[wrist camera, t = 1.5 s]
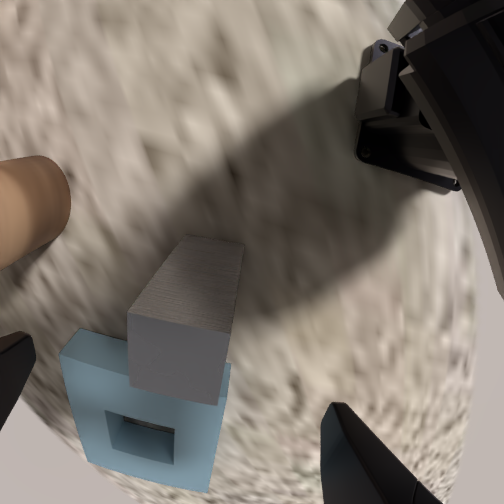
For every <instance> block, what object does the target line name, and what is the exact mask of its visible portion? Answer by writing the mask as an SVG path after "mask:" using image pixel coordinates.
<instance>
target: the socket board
mask: <svg viewBox="0 0 504 504" xmlns="http://www.w3.org/2000/svg"><path fill="white" fill-rule="evenodd" d="M59 359H60V364H61V369H62V373H63V378H64V382H65V387H66V391H67V395H68V399H69V403H70V406H71V410H72V414H73V417H74V421H75V424H76V427H77V431H78V434H79V437H80V440H81V443H82V446H83V449H84V452H85V455H86V458H87V461H88V462H90V463H93V464H96V465H99V466H102V467H104V468H107V469H110V470H114V471H117V472H120V473H123V474H126V475H130V476H133V477H137V478H140V479H144V480H148V481H152V482H156V483H160V484H164V485H168V486H173V487H177V488H182V489H187V490H192V491H198V492H204V493H207V492H208V487H209V482H210V477H211V472H212V468H213V463H214V458H215V453H216V448H217V443H218V439H219V434H220V429H221V424H222V419H223V414H224V409H225V405H226V400H227V393H228V385H229V377H230V369H231V364H230V363H225V367H224V373H223V378H222V384H221V389H220V395H219V400H218V406H214V405H208V404H203V403H198V402H193V401H188V400H183V399H178V398H174V397H169V396H165V395H161V394H157V393H153V392H149V391H145V390H141V389H137V388H133V387H130V384H129V367H128V341H124V340H120V339H117V338H113V337H109V336H106V335H102V334H99V333H95V332H92V331H88V330H85V329H82V328H80V329H79V330H78V331H77V332H76V334H75V335H74V336H73V337H72V338H71V339H70V341H69V342H68V343H67V344H66V345H65V347H64V348H63V349H62V350H61V352H60V353H59ZM123 416H127V417H130V418H134V419H137V420H141V421H145V422H149V423H153V424H157V425H161V426H165V427H169V428H174V429H175V434H172V433H168V432H164V431H160V430H156V429H152V428H148V427H144V426H140V425H137V424H133V423H129V422H126V421H124V417H123Z"/></svg>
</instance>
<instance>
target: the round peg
mask: <svg viewBox="0 0 504 504" xmlns="http://www.w3.org/2000/svg"><path fill="white" fill-rule="evenodd" d="M70 210H71V196H70V189H69V185H68V182H67V180H66V177H65V175H64V173H63V172H62V170H61V169H60V167H59V166H58V165H57V164H56V163H55V162H54V161H52V160H51V159H49V158H47V157H44V156H30V157H23V158H17V159H11V160H6V161H0V271H1V270H2V269H4V268H6V267H7V266H9V265H10V264H12V263H14V262H15V261H17V260H19V259H20V258H22V257H24V256H25V255H27V254H29V253H30V252H32V251H34V250H35V249H37V248H39V247H41V246H42V245H44V244H46V243H48V242H49V241H51V240H53V239H54V238H56V237H57V236H58V235H60V234H61V232H62V231H63V230H64V228H65V226H66V224H67V222H68V219H69V215H70Z"/></svg>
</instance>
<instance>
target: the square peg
mask: <svg viewBox="0 0 504 504" xmlns="http://www.w3.org/2000/svg"><path fill="white" fill-rule="evenodd" d="M243 251H244V244H238V243H233V242H227V241H222V240H216V239H211V238H205V237H200V236H194V235H189V234H186V235H185V236H184V237H183V238H182V240H181V241H180V242H179V243H178V245H177V246H176V247H175V249H174V250H173V251H172V252H171V254H170V255H169V256H168V258H167V259H166V260H165V262H164V263H163V264H162V265H161V267H160V268H159V269H158V271H157V272H156V273H155V275H154V276H153V277H152V279H151V280H150V281H149V283H148V284H147V285H146V287H145V288H144V289H143V291H142V292H141V294H140V295H139V296H138V298H137V299H136V300H135V302H134V303H133V304H132V306H131V307H130V309H129V310H128V311H127V341H128V367H129V384H130V387H133V388H137V389H141V390H145V391H149V392H153V393H157V394H161V395H165V396H169V397H174V398H178V399H183V400H188V401H193V402H198V403H203V404H208V405H214V406H218V400H219V395H220V389H221V384H222V378H223V373H224V367H225V362H226V356H227V351H228V346H229V340H230V335H231V328H232V322H233V315H234V309H235V302H236V296H237V289H238V283H239V276H240V270H241V263H242V257H243Z"/></svg>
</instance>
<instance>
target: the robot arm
mask: <svg viewBox="0 0 504 504" xmlns="http://www.w3.org/2000/svg"><path fill="white" fill-rule="evenodd" d="M387 29H388V31H389V32H390V33H391V34H392V36H393V37H394V38H395V40H396V41H397V42H398V41H400V42H401V44H402V45H403V46H404V47H402V46H400V45H397V44H395V43H392V42H389V41H387V40H383V39H380V40H377V41H376V42H375V43H374V44H373V45H372V50H371V56H370V63H369V65H367V66H366V67H364V68H363V69H362V74H361V80H360V86H359V92H358V98H357V103H356V109H355V117H356V118H357V120H358V121H359V127H358V132H357V137H356V142H355V147H354V155H355V157H356V159H357V160H359V161H361V162H364V163H367V164H371V165H374V166H378V167H381V168H385V169H388V170H392V171H395V172H398V173H401V174H405V175H408V176H411V177H414V178H417V179H420V180H423V181H426V182H429V183H432V184H435V185H438V186H441V187H444V188H447V189H450V190H453V191H459V190H461V189H462V191H463V193H464V195H465V198H466V200H467V202H468V205H469V207H470V210H471V212H472V215H473V217H474V220H475V222H476V225H477V228H478V230H479V233H480V235H481V238H482V241H483V244H484V247H485V250H486V253H487V256H488V259H489V262H490V265H491V269H492V272H493V275H494V279H495V282H496V286H497V290H498V292H499V293H500V295H501V296H502V298H503V299H504V0H406V1H405V2H404V4H403V5H402V7H401V8H400V10H399V11H398V13H397V14H396V16H395V18H394V19H393V21H392V22H391V24H390V25H389V27H388V28H387ZM379 46H383V47H384V48H385V50H386V53H383V52H381V51H380V49H379ZM364 147H366V148H367V149H368V155H367V156H366V157H363V156H362V154H361V150H362V148H364ZM454 179H456V184H455V185H453V180H454ZM35 361H36V353H35V348H34V344H33V339H32V337H31V335H29V334H27V333H25V332H22V331H18V332H15V333H12V334H10V335H7V336H4V337H1V338H0V431H1V429H2V427H3V425H4V423H5V421H6V420H7V417H8V416H9V414H10V413H11V411H12V409H13V407H14V405H15V404H16V402H17V400H18V398H19V396H20V394H21V392H22V390H23V387H24V385H25V383H26V381H27V379H28V377H29V374H30V372H31V370H32V368H33V366H34V364H35ZM320 471H321V482H322V490H323V499H324V504H443V503H442V502H441V501H439V500H438V499H437V498H436V497H435V496H434V495H433V494H432V493H431V492H430V491H429V490H428V489H427V488H426V487H425V486H424V485H423V484H422V483H421V482H420V481H417V478H416V477H415V476H414V475H413V474H412V473H411V472H410V471H409V470H408V469H407V468H406V467H405V466H404V465H403V464H402V463H401V461H400V460H399V459H398V458H397V457H396V456H395V455H394V454H393V453H392V452H391V451H390V450H389V449H388V448H387V447H386V446H385V445H384V444H383V442H382V441H381V440H380V439H379V438H378V437H377V436H376V435H375V434H374V433H373V432H372V431H371V430H370V429H369V427H368V426H367V425H366V424H365V423H364V422H363V421H362V420H361V419H360V418H359V417H358V416H357V415H356V413H355V412H354V411H353V410H352V409H351V408H350V407H349V406H348V405H347V404H346V403H344V402H332V403H331V404H330V405H329V407H328V409H327V411H326V413H325V415H324V417H323V419H322V422H321V455H320Z"/></svg>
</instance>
